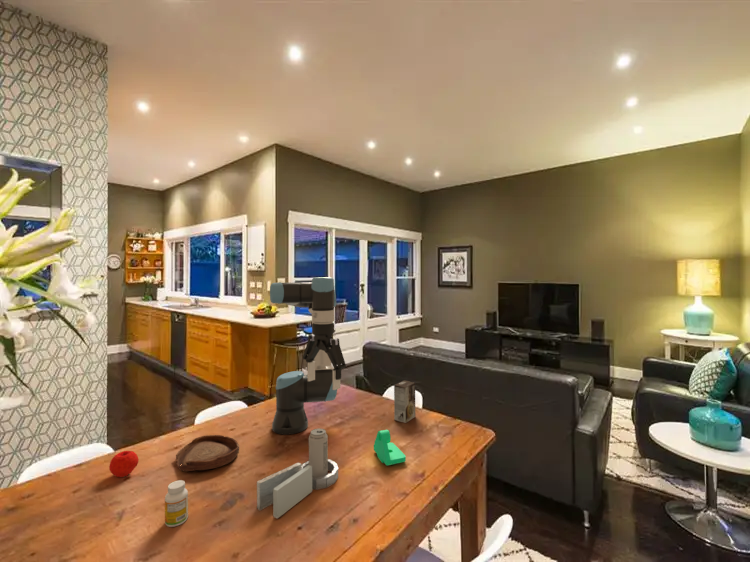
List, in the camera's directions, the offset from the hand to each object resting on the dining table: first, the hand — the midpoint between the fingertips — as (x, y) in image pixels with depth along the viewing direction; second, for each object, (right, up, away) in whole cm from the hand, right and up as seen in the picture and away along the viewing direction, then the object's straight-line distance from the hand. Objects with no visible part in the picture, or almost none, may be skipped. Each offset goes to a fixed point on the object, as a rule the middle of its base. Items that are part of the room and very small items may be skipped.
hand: (323, 384), depth 120 cm
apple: (-65, -29, -4) cm, 71 cm away
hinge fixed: (-6, -28, -12) cm, 31 cm away
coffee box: (+31, -28, +42) cm, 59 cm away
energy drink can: (-1, -29, -6) cm, 29 cm away
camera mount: (+23, -29, +6) cm, 37 cm away
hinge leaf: (-6, -28, -20) cm, 35 cm away
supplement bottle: (-35, -29, -26) cm, 53 cm away
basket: (-42, -29, +6) cm, 52 cm away
